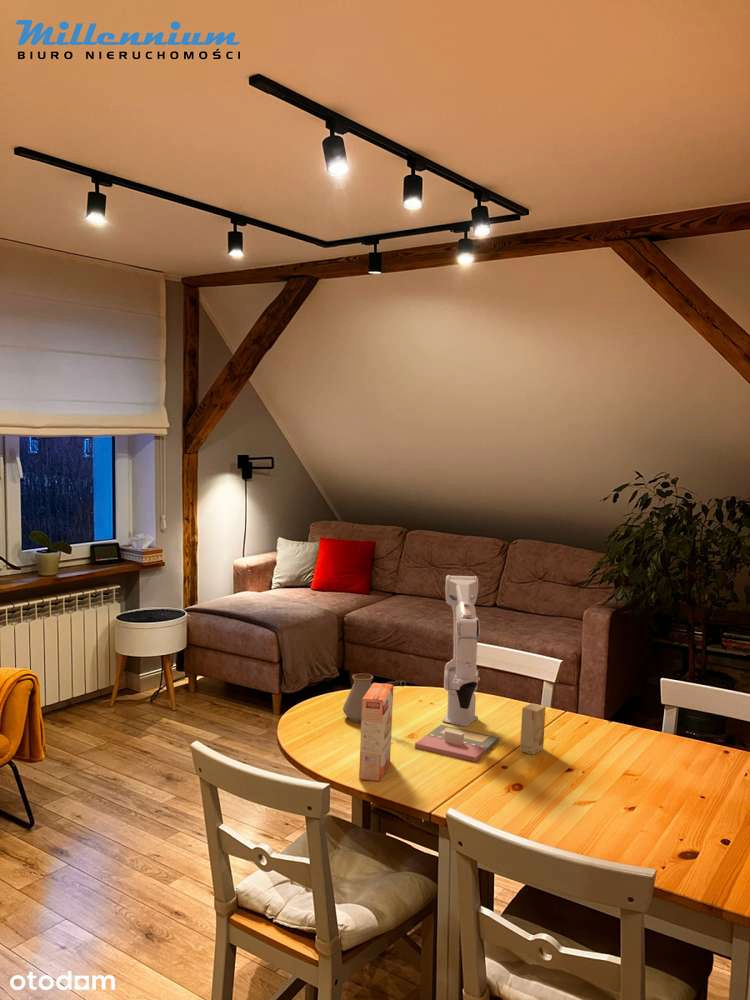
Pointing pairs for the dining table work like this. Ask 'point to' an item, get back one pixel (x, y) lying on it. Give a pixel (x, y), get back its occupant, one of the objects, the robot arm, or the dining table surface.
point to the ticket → (467, 737)
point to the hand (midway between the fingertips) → (464, 707)
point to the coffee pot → (359, 695)
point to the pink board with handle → (451, 746)
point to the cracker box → (376, 731)
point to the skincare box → (532, 728)
